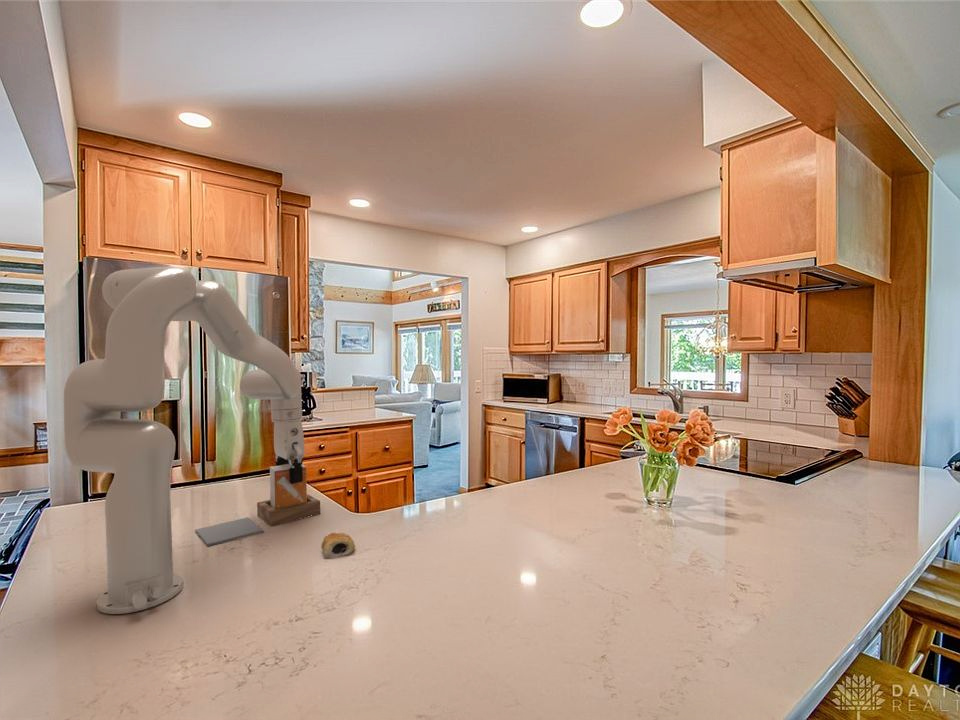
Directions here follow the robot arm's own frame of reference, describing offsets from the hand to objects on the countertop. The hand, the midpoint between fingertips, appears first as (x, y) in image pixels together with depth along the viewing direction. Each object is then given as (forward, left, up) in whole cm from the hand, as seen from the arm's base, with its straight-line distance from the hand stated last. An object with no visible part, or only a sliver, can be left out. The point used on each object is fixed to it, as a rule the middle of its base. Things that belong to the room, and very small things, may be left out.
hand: (289, 478), depth 127 cm
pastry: (-30, +1, -10) cm, 32 cm away
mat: (-2, +15, -10) cm, 18 cm away
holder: (0, 0, -10) cm, 10 cm away
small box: (0, 0, -10) cm, 10 cm away
